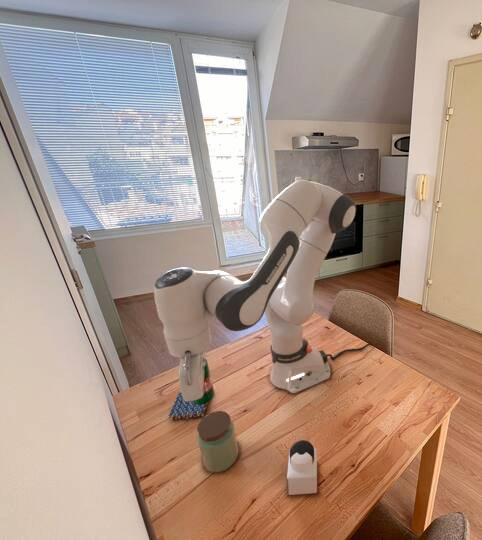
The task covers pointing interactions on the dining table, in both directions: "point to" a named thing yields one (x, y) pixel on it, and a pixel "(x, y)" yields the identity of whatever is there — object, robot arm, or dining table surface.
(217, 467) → the jar
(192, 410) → the woven mat
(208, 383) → the soda can
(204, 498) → the dining table surface
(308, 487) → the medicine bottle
